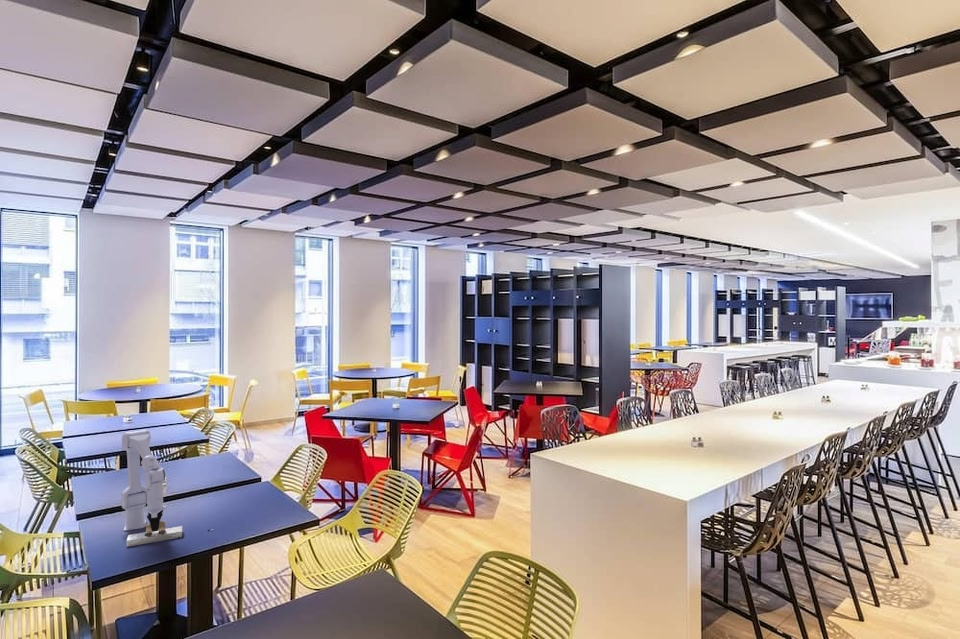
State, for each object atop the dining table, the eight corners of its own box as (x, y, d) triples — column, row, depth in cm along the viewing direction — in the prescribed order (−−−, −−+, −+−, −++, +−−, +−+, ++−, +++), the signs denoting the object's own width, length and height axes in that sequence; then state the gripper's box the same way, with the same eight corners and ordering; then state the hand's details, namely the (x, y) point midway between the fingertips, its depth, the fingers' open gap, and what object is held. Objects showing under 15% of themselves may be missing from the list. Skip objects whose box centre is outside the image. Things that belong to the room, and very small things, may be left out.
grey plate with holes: (128, 540, 223) (128, 535, 223) (182, 531, 233) (182, 525, 233) (126, 546, 217) (126, 540, 217) (181, 537, 227) (181, 531, 227)
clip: (146, 537, 225) (146, 523, 225) (165, 534, 228) (165, 520, 228) (146, 540, 222) (145, 525, 222) (165, 536, 225) (165, 522, 225)
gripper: (165, 500, 221) (165, 533, 221) (166, 491, 233) (166, 522, 233) (145, 503, 217) (145, 536, 217) (148, 494, 230) (148, 525, 230)
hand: (155, 529), depth 225 cm, fingers closed on clip, 3 cm apart
